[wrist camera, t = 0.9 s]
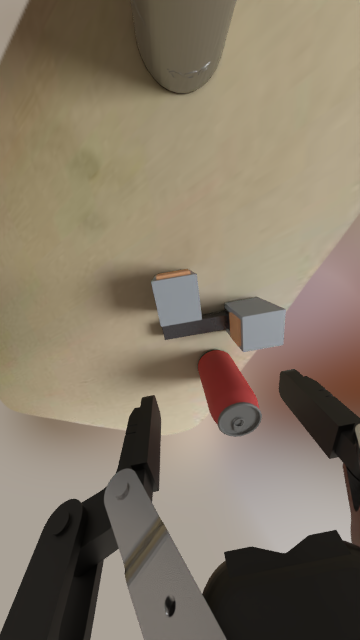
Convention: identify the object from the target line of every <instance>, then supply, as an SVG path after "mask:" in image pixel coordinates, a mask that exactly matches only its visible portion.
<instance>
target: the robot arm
mask: <svg viewBox="0 0 360 640" xmlns="http://www.w3.org/2000/svg"><path fill="white" fill-rule="evenodd" d="M236 1H237V0H131V7H132V14H133V21H134V28H135V34H136V40H137V44H138V48H139V51H140V54H141V57H142V59H143V61H144V63H145V65H146V68H147V69H148V71H149V72H150V73H151V75H152V76H153V78H154V79H155V80H156V81H157V82H158V83H159V84H160V85H162V86H163V87H165V88H166V89H168V90H170V91H173V92H176V93H189V92H192V91H195V90H197V89H198V88H200V87H201V86H203V85H204V84H205V83H206V82H207V81H208V80H209V79H210V78H211V76H212V74H213V73H214V71H215V70H216V68H217V65H218V63H219V60H220V58H221V55H222V51H223V48H224V44H225V40H226V37H227V33H228V29H229V26H230V22H231V18H232V14H233V11H234V7H235V4H236ZM279 393H280V396H281V398H282V399H283V401H284V402H285V403H286V405H287V406H288V407H289V408H290V410H291V411H292V412H293V414H294V415H295V416H296V417H297V418H298V420H299V421H300V422H301V424H302V425H303V426H304V427H305V429H306V430H307V431H308V432H309V434H310V435H311V436H312V437H313V439H314V440H315V441H316V442H317V444H318V445H319V446H320V447H321V449H322V450H323V451H324V453H325V454H326V455H327V456H328V458H329V459H331V458H336V457H339V458H340V459H341V460H342V462H343V472H344V477H345V483H346V488H347V494H348V500H349V505H350V511H351V540H352V543H349V542H346V541H343V540H342V539H341V537H340V535H339V534H338V532H337V531H336V530H333V531H329V532H324V533H318V534H313V535H309V536H307V537H306V538H305V539H304V540H302V541H301V542H300V543H299V544H297V545H296V546H295V547H294V548H292V549H291V550H290V551H289V552H287V553H279V552H274V551H269V550H265V549H260V548H256V547H247V548H242V549H237V550H232V551H227V552H224V554H225V559H226V561H224V562H223V563H222V564H221V565H220V566H219V567H218V568H217V569H216V570H215V571H214V572H213V574H212V575H211V577H210V578H209V580H208V582H207V584H206V587H205V588H204V591H203V594H202V593H201V591H200V590H199V588H198V586H197V584H196V582H195V580H194V579H193V577H192V575H191V573H190V571H189V569H188V567H187V565H186V564H185V562H184V560H183V558H182V556H181V554H180V553H179V551H178V549H177V547H176V545H175V543H174V542H173V540H172V538H171V536H170V534H169V532H168V531H167V529H166V527H165V525H164V524H163V522H162V520H161V519H160V517H159V515H158V513H157V511H156V509H155V508H154V506H153V504H152V495H153V492H156V491H159V472H160V440H161V416H160V411H159V408H158V404H157V401H156V398H155V395H153V396H147V397H143V398H142V400H141V406H140V407H139V408H134V410H133V412H132V413H131V415H130V417H129V421H128V425H127V430H126V436H125V438H124V443H123V448H122V452H121V456H120V460H119V465H118V469H117V472H116V474H115V475H114V476H113V477H112V479H111V480H110V482H109V483H108V485H107V487H105V488H104V489H103V490H102V491H100V492H99V493H97V494H96V495H94V496H92V497H90V498H89V499H87V500H85V501H84V502H82V503H81V502H80V501H79V500H77V499H70V500H68V501H66V502H64V503H63V504H61V505H60V506H59V507H58V508H57V509H56V510H55V511H54V512H53V514H52V515H51V516H50V518H49V519H48V521H47V523H46V524H45V526H44V529H43V531H42V533H41V536H40V539H39V541H38V543H37V546H36V548H35V550H34V553H33V555H32V558H31V560H30V563H29V565H28V567H27V570H26V572H25V575H24V577H23V580H22V582H21V585H20V587H19V589H18V592H17V594H16V597H15V599H14V602H13V604H12V607H11V609H10V611H9V614H8V616H7V619H6V621H5V624H4V626H3V628H2V631H1V634H0V640H90V638H91V631H92V625H93V620H94V614H95V608H96V602H97V596H98V590H99V584H100V578H101V573H102V567H103V560H104V559H105V558H106V557H108V556H109V555H110V554H112V553H113V552H115V551H116V550H117V549H119V550H120V553H121V556H122V559H123V563H124V567H125V578H126V583H127V586H128V589H129V593H130V596H131V599H132V603H133V606H134V609H135V612H136V615H137V619H138V622H139V625H140V628H141V631H142V634H143V638H144V640H360V418H359V417H358V416H357V415H356V414H354V413H353V412H352V411H351V410H350V409H348V408H347V407H346V406H345V405H344V404H343V403H341V402H340V401H339V400H338V399H337V398H335V397H333V395H332V394H331V393H330V392H328V391H327V390H325V388H324V387H323V386H321V385H320V384H319V383H318V382H317V381H315V380H313V379H311V378H309V377H307V376H304V377H303V376H302V375H301V374H300V373H299V372H298V371H297V370H295V369H292V370H287V371H282V372H281V373H280V382H279Z"/></svg>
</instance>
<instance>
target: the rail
mask: <svg viewBox="0 0 360 640" xmlns="http://www.w3.org/2000/svg"><path fill="white" fill-rule="evenodd" d="M229 313H230V312H229V311H228V310H227V311H221V312H215V313H210V314H204V315H202V320H197V321H192V322H186V323H180V324H175V325H169V326H163V327H162V329H163V333H164V338H165V340H168V339H173V338H179V337H184V336H190V335H196V334H201V333H207V332H212V331H218V330H224V329H229V328H230V320H229Z"/></svg>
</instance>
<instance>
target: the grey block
mask: <svg viewBox="0 0 360 640" xmlns="http://www.w3.org/2000/svg"><path fill="white" fill-rule="evenodd" d="M151 284H152V288H153V293H154V297H155V302H156V306H157V311H158V315H159V320H160V324H161V327H163V326H169V325H175V324H180V323H186V322H192V321H197V320H202V314H201V306H200V298H199V289H198V281H197V274H196V273H194V272H192V271H191V270H188V269H184V270H178V271H172V272H166V273H161V274H157V275H155V276H154V278H153V280H152V281H151Z"/></svg>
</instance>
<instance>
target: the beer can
mask: <svg viewBox="0 0 360 640" xmlns="http://www.w3.org/2000/svg"><path fill="white" fill-rule="evenodd" d="M198 371H199V375H200V378H201V382H202V385H203V389H204V393H205V396H206V400H207V403H208V407H209V411H210V413H211V416H212V417H213V419H214V421H215V422H216V423H217V424H218V427H219V429H220V431H221V432H223V433H224V434H226V435H229V436H235V437H236V436H243V435H246V434H248V433H250V432H252V431H254V430H255V429H256V428H257V427H258V425H259V424H260V422H261V418H262V414H261V411H260V410H259V406H258V401H257V398H256V396H255V394H254V392H253V391H252V389H251V388H250V386H249V385H248V383H247V381H246V380H245V378H244V377H243V376H242V374H241V372H240V371H239V369H238V367H237V366H236V364H235V363H234V361H233V360H232V358H231V357H230V355H229V354H228V353H226V352H224V351H220V350H213V351H210V352H207V353H206V354H205V355H203V356H202V358H201V359H200V361H199V363H198Z"/></svg>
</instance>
